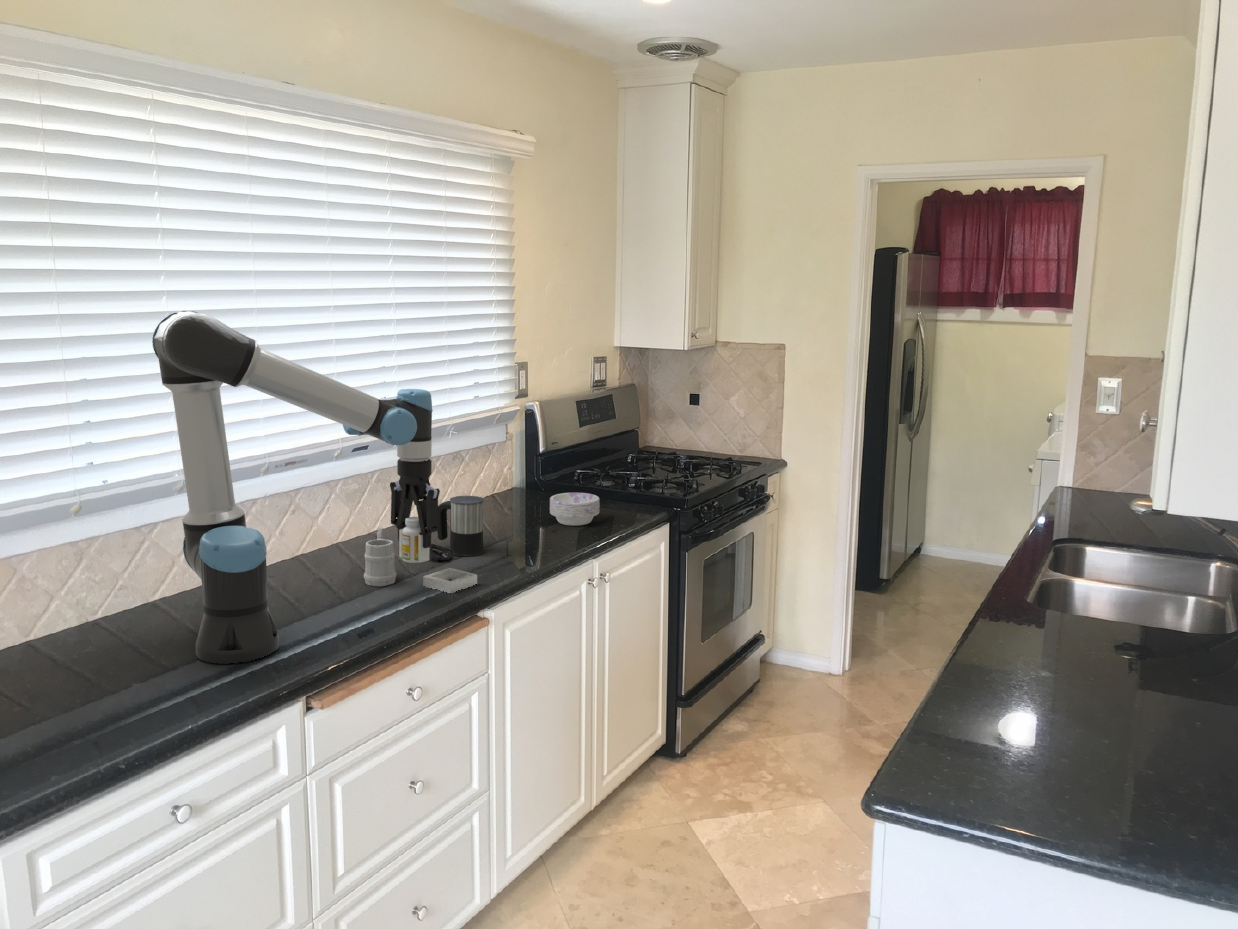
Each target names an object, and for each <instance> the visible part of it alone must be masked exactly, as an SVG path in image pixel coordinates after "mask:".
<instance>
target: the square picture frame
mask: <svg viewBox="0 0 1238 929" xmlns="http://www.w3.org/2000/svg"><path fill="white" fill-rule="evenodd" d="M422 581H423V582H422V584H423V585H422V586H423V587H424V586H425V587H424V588H428V589H431V588H432V589H431V590H435V589H438V590H437V591H439V590H440V591H439V592H443V591H444V593H446V592H447V594H450V593H451V594H455V593H456V591H457V592H459V591H458V590H460V591H462V590H461V589H463V590H465V589H468V587H469V588H471V587H474V586H476V585H475V584H477V585H478V574H477V573H473V572H469V571H464V570H460V569H456V568H452V567H447V568H445V569H442V570H438V571H436V572H433V573H429V574H426V575H423V576H422ZM473 585H474V586H473Z"/></svg>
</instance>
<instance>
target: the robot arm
mask: <svg viewBox="0 0 1238 929" xmlns="http://www.w3.org/2000/svg"><path fill="white" fill-rule="evenodd" d="M152 349H153V351H154V354H155V355H156V357H157V359H158V364H159V371H160V376H161V377H160V378H161V385H163V386H164V387H165V388H167V389H168V390H170V391H171V394H172V400H173V408H174V413H175V414H174V415H175V421H176V428H177V435H178V441H179V447H180V455H181V456H180V457H181V461H182V462H181V463H182V470H183V475H184V483H185V489H186V497H187V503H188V512H187V513H186V514H185V515H184V516H183V518H182V519H181V520H182V526H183V532H184V533H183V534H184V538H183V543H182V552H183V556H184V559H185V562H186V563H187V565H188V566H189V567H190V569H192V571H194V573H195V574H196V575H197V576H198V578H199V579H200V580H201V590H202V591H201V592H202V607H203V608H202V610H203V616H202V619H201V623H200V626H199V630H198V634H197V638H196V640H195V656H196V658H197V659H199V660H200V661H203V662H206V663H209V664H216V663H217V664H219V665H226V664H227V665H230V664H229V663H234V664H240V663H239V662H243V663H247V662H252V660H253V661H256V660H255V659H257V660H259V659H258V658H260V657H262V656H266V657H268V656H270V655H272V654H273V653H272V652H274V651H275V650H276V651H277V650H279V648H280V635H279V631H278V629H277V626H276V624H275V622H274V619H273V617H272V615H271V612H270V610H269V597H268V595H269V594H268V592H269V591H268V575H267V570H268V568H267V545H266V540H265V537H264V536H263V534H262V533H261V532H260V531H259V530H258V529H255V528H253V527H247V522H246V515H245V514H246V513H245V510H244V509H243V508H241V507H239V506H238V505H237V504H236V501H235V493H234V484H233V478H232V470H231V464H230V457H229V456H230V455H229V449H228V442H227V435H226V434H227V432H226V427H225V426H226V425H225V420H224V418H225V417H224V411H223V403H222V396H221V386H222V385H223V384H226V385H228V386H231V387H233V388H238V387H240V386H246V387H247V388H251V389H253V390H256V391H258V392H260V393H263V394H265V395H268V396H270V397H273V398H276V399H279V400H281V401H283V402H286V403H288V404H291V405H293V406H296V407H298V408H300V409H303V410H306V411H309V412H311V413H313V414H315V415H319V416H321V417H324V418H326V419H328V420H331V421H333V422H335V423H338V424H342V427H343V430H344V432H345V434H347V435H348V436H359V437H361V436H370V437H373V438H375V439H378V440H380V441H383V442H385V443H386V444H389V445H391V446H397V448H396V450H397V451H396V452H397V454H396V456H397V457H398V460H397V464H396V465H397V466H396V467H397V468H396V469H397V476H399V480H397V481H392V482H389V487H390V494H391V497H390V524H391V525H394V526H396V528H397V541H398V544H399V545H398V548H399V549H398V550H399V551H398V552H399V553H398V554H399V558H401V559H402V530H403V529H404V528H405V527H406V524H405V519H406V518H408V517H411V512H412V508H413V504H414V505H415V507H416V512H417V517H418V518H419V523H420V529H421V532H420V533H419V534H418V563H421V564H422V563H423V562H428V561H430V555H429V547H431V544H432V533H435V532H436V533H437V531H438V529H439V526H438V506H439V497H440V493H441V490H440V488H435V487H432V486H431V483H430V476H431V475H432V468H433V467H432V466H433V465H432V462H433V461H432V460H431V457H432V443H433V442H432V441H433V440H432V439H433V438H432V437H433V436H432V427H433V425H432V424H433V422H432V420H433V400H432V394H431V392H430V391H429V390H426V389H422V388H405V389H404V388H402V389H399V390H398V391H397V396H396V398H393V399H392V398H391V399H379V398H377V397H375V396H373V395H370V394H368V393H366V392H363V391H360V390H358V389H356V388H354V387H351V386H350V385H347V384H344V383H342V382H340V381H337V380H335V379H333V378H330V377H328V376H326V375H324V374H321V373H319V372H317V371H314V370H313V369H310V368H307V367H305V366H302V365H301V364H298V363H296V362H293V361H291V360H289V359H286V358H284V357H282V356H280V355H277V354H275V353H273V352H271V351H268V350H266V349H263V348H261V347H260V346H259V344H258V342H257V340H255V339H254V338H251V337H248V336H247V335H246V334H243V333H240V332H239V331H237V330H235V329H233V328H231V327H230V326H228V325H227V324H225V323H223V322H222V321H220V320H218V319H217V318H215V317H213V316H211V315H208V314H205V313H200V312H196V311H193V310H181V311H176V312H173V313H170V314H167V316H165V317H164V318H163V319H161V320H160V321H159V323H157V325H156V326H155V329H154V330H153V334H152ZM276 651H275V652H276ZM275 652H274V653H275ZM271 653H272V654H271ZM269 654H270V655H269ZM267 655H268V656H267ZM260 659H261V658H260ZM217 664H216V665H217Z"/></svg>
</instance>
